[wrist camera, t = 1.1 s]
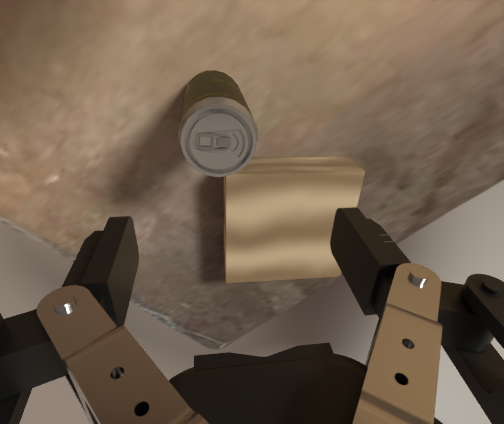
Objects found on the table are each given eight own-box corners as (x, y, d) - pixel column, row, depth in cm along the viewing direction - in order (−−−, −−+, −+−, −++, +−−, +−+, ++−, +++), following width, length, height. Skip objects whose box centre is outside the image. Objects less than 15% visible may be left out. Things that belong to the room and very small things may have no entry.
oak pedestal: (223, 158, 35) (226, 174, 32) (350, 156, 37) (365, 171, 33) (223, 261, 42) (225, 283, 39) (329, 255, 44) (340, 276, 41)
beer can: (184, 125, 33) (177, 178, 22) (184, 66, 30) (176, 96, 20) (238, 128, 34) (255, 181, 23) (243, 71, 31) (265, 104, 21)
